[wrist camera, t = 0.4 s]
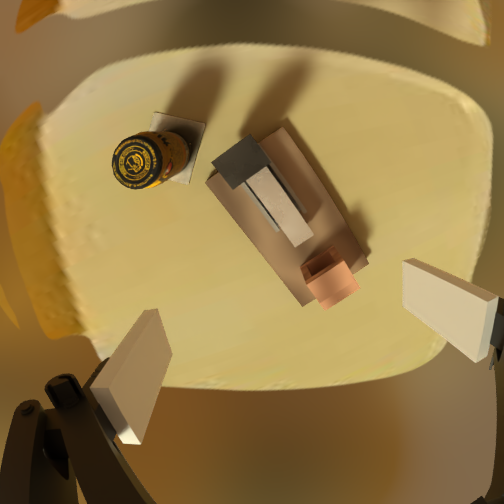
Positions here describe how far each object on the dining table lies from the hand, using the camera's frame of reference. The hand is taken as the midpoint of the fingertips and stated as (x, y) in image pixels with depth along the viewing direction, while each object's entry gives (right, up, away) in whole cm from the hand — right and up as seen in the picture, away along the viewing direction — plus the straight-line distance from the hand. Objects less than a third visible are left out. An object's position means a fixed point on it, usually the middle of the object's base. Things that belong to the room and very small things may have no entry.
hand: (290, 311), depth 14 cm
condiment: (-12, +17, +21) cm, 29 cm away
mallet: (0, +11, +21) cm, 23 cm away
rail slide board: (+4, +7, +25) cm, 26 cm away
